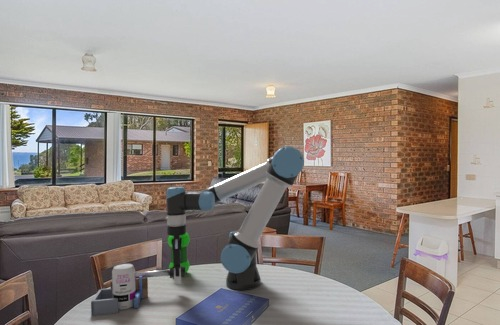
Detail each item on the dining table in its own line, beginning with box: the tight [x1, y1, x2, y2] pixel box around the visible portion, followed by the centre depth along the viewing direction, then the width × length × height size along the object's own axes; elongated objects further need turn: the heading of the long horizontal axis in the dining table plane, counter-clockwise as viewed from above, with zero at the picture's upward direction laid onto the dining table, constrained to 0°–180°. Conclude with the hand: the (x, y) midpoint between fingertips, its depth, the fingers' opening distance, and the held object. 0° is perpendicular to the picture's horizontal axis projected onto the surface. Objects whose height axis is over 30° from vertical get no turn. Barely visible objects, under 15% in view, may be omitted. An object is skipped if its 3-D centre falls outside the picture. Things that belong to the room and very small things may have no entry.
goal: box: [90, 287, 119, 316], centre depth 129 cm, size 9×12×5 cm
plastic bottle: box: [167, 232, 191, 274], centre depth 165 cm, size 10×10×25 cm
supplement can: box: [111, 263, 136, 311], centre depth 130 cm, size 8×8×15 cm
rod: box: [133, 266, 186, 309], centre depth 135 cm, size 22×13×11 cm, turn 100°
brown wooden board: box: [109, 277, 149, 299], centre depth 137 cm, size 14×1×8 cm, turn 100°
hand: (177, 281), depth 141 cm, fingers closed on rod, 4 cm apart
